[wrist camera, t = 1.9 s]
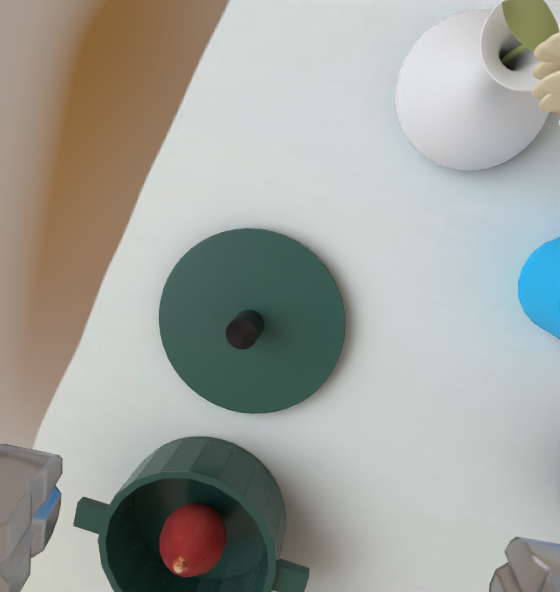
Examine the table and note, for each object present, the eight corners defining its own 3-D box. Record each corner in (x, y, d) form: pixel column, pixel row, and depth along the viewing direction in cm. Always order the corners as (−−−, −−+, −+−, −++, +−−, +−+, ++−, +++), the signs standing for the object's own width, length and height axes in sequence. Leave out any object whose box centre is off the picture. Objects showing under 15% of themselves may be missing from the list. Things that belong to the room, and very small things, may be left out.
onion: (222, 550, 49) (198, 616, 41) (168, 526, 49) (134, 586, 41) (243, 500, 47) (222, 558, 40) (187, 476, 48) (155, 528, 40)
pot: (290, 610, 49) (282, 669, 43) (92, 546, 51) (57, 593, 45) (331, 472, 46) (328, 513, 40) (119, 408, 48) (85, 439, 42)
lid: (318, 430, 46) (314, 454, 41) (148, 380, 47) (126, 399, 42) (367, 255, 42) (369, 260, 38) (183, 207, 44) (164, 207, 39)
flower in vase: (364, 117, 41) (388, -20, 16) (457, -14, 38) (651, -408, 14) (495, 213, 40) (719, 221, 16) (596, 88, 38) (1042, -125, 14)
